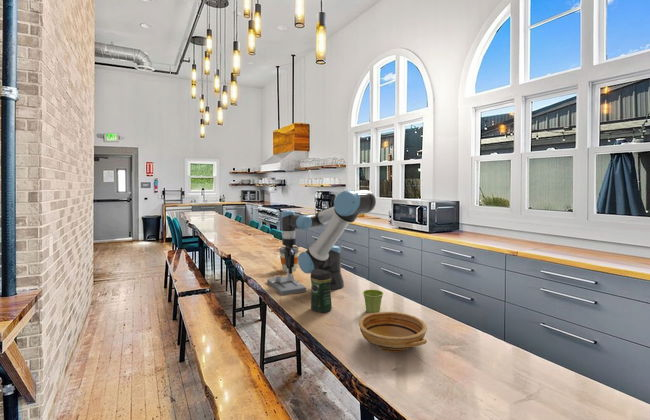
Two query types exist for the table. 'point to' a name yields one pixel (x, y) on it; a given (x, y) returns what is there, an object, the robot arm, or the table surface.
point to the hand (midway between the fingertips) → (289, 278)
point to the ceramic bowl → (393, 330)
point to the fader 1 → (277, 278)
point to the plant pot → (373, 300)
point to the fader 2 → (290, 278)
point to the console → (286, 286)
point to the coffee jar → (321, 290)
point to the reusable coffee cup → (284, 258)
